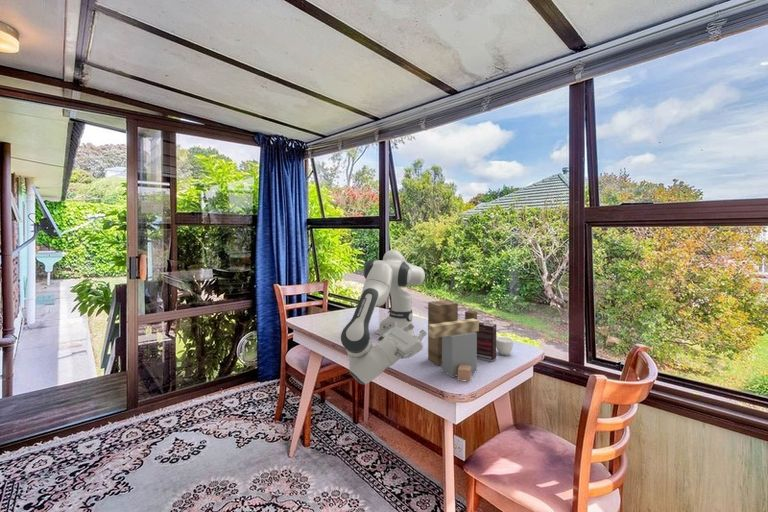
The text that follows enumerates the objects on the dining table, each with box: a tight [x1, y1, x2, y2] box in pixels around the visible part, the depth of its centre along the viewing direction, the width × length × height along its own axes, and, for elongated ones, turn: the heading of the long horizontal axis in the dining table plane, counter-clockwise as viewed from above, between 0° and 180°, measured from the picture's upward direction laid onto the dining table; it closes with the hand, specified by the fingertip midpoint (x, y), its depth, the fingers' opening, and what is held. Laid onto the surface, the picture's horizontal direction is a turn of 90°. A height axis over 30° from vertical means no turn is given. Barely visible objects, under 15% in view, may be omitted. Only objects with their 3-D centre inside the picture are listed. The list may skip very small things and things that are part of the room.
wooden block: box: [464, 310, 478, 320], centre depth 161 cm, size 9×4×18 cm, turn 137°
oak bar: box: [427, 319, 480, 338], centre depth 133 cm, size 22×4×4 cm, turn 114°
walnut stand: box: [427, 299, 459, 367], centre depth 145 cm, size 10×8×26 cm
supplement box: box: [476, 321, 497, 362], centre depth 148 cm, size 9×5×16 cm, turn 52°
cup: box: [496, 336, 514, 356], centre depth 155 cm, size 8×10×7 cm
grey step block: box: [441, 332, 478, 377], centre depth 135 cm, size 12×7×16 cm, turn 114°
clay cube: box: [457, 365, 472, 382], centre depth 128 cm, size 4×4×4 cm
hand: (418, 328), depth 126 cm, fingers open, 8 cm apart
